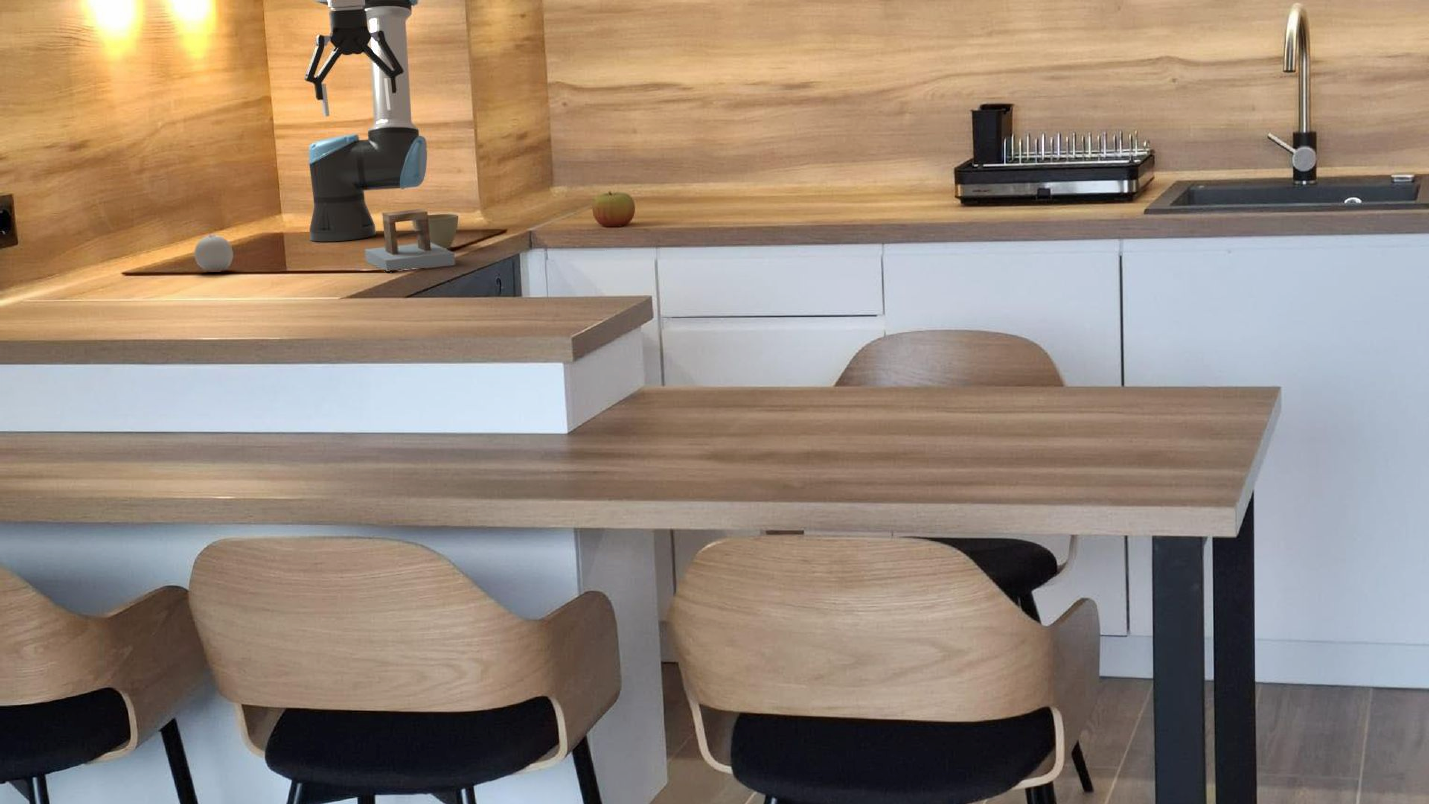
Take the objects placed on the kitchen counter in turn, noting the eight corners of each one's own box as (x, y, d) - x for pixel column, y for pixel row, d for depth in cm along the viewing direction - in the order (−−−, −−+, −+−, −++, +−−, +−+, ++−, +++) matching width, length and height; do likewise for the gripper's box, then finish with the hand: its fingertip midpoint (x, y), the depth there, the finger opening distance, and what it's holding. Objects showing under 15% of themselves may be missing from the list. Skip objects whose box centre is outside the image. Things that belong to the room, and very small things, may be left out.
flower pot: (452, 252, 371) (448, 218, 370) (407, 253, 373) (404, 220, 372) (467, 245, 381) (464, 212, 379) (424, 246, 383) (421, 214, 381)
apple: (586, 228, 396) (583, 193, 395) (604, 222, 405) (602, 188, 403) (625, 228, 393) (622, 193, 391) (643, 222, 401) (640, 187, 400)
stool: (392, 254, 354) (388, 215, 353) (386, 251, 360) (382, 212, 358) (431, 250, 357) (427, 211, 356) (423, 247, 363) (420, 208, 361)
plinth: (365, 261, 365) (364, 249, 365) (431, 253, 371) (430, 242, 370) (387, 272, 347) (385, 260, 347) (455, 264, 353) (454, 252, 352)
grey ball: (201, 276, 358) (196, 237, 356) (193, 272, 365) (189, 234, 363) (239, 271, 361) (234, 233, 359) (230, 267, 368) (226, 230, 366)
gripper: (290, 13, 350) (302, 119, 355) (411, 4, 359) (421, 108, 365) (282, 12, 356) (295, 117, 362) (401, 4, 366) (412, 105, 372)
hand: (358, 112), depth 363 cm, fingers open, 13 cm apart
